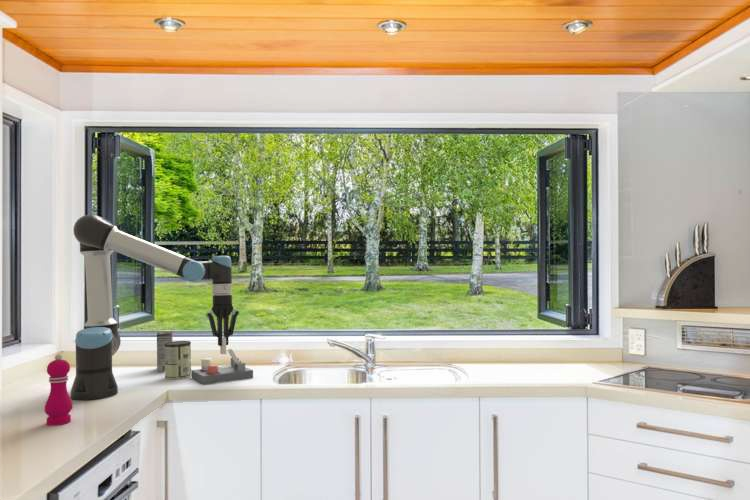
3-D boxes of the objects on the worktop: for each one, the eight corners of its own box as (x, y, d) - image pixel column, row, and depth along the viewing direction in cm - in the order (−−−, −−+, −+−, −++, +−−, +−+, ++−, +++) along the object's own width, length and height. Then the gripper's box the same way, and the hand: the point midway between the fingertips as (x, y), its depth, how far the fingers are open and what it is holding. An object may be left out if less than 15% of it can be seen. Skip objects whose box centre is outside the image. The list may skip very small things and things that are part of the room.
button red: (209, 379, 224) (209, 367, 224) (206, 378, 227) (206, 365, 227) (219, 378, 226) (219, 365, 226) (216, 377, 229) (216, 364, 229)
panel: (203, 384, 220) (203, 368, 221) (191, 377, 234) (191, 362, 234) (253, 377, 232) (252, 362, 232) (238, 371, 245) (238, 357, 245)
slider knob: (233, 366, 238) (233, 359, 238) (230, 365, 241) (230, 358, 241) (238, 365, 240) (238, 358, 240) (236, 364, 242) (236, 357, 242)
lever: (239, 370, 232) (228, 351, 229) (237, 368, 234) (226, 350, 232) (243, 367, 233) (232, 348, 230) (241, 365, 235) (230, 347, 233)
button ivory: (203, 372, 230) (203, 360, 231) (200, 371, 234) (200, 358, 234) (213, 371, 233) (212, 359, 233) (209, 370, 236) (209, 357, 236)
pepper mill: (77, 418, 173) (76, 352, 174) (65, 425, 166) (64, 356, 167) (52, 419, 173) (52, 352, 174) (39, 426, 166) (39, 356, 166)
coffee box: (157, 368, 257) (157, 331, 257) (173, 367, 258) (172, 331, 259) (156, 371, 248) (156, 334, 248) (172, 370, 250) (172, 333, 250)
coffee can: (171, 374, 241) (171, 340, 242) (195, 374, 240) (194, 340, 241) (159, 379, 231) (159, 344, 231) (184, 379, 230) (184, 344, 230)
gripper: (209, 295, 223) (210, 356, 223) (241, 293, 230) (242, 353, 230) (203, 294, 230) (204, 354, 229) (234, 293, 237) (235, 350, 236)
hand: (223, 353), depth 230 cm, fingers closed
